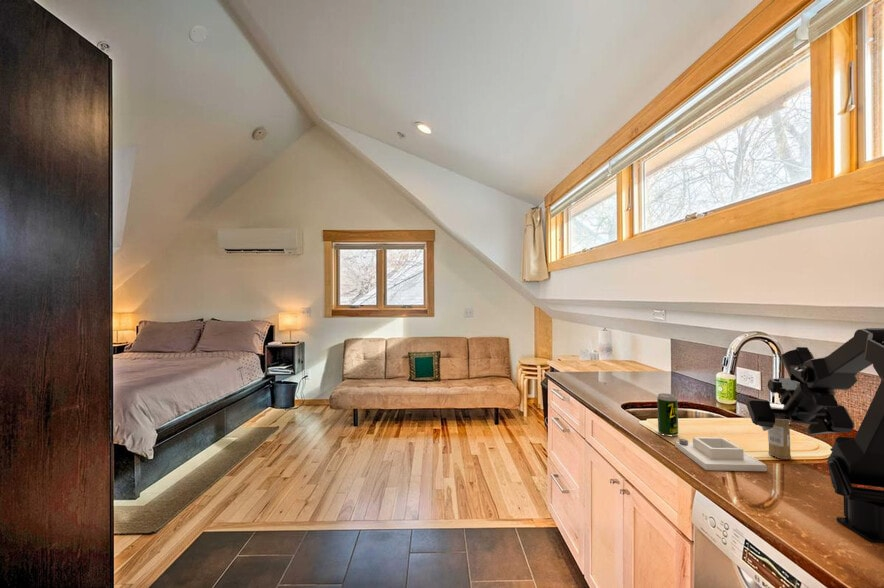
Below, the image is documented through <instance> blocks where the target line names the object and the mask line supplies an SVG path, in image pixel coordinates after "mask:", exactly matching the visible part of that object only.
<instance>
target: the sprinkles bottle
mask: <svg viewBox="0 0 884 588" xmlns="http://www.w3.org/2000/svg"><path fill="white" fill-rule="evenodd" d="M769 404H770V406H771V409H783V407H784V404H781V403H780V404H779V403H769ZM773 426H774V427H773V428H771V429H769V430H767V440H768V441H767V442H768V452H767V453H768V455H770V454H771V455H773V456H775V457H774V458H776V457H777V459H779V460H780V459H781V460H789V459H791V458H792V454H791V433H790V432H791V431H790V420H779V419H775V424H774V425H773ZM771 455H770V456H771ZM773 456H772V457H773Z"/></svg>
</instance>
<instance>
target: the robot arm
mask: <svg viewBox="0 0 884 588" xmlns="http://www.w3.org/2000/svg"><path fill="white" fill-rule="evenodd" d="M780 358H781V361H782V363H783V366H784V368H785V370H786V373H787V375H788V376H789V377H788V378H787V377H785V378H784V377H783V378H782V377H778V378H770V379H769V380H768V381H767V384H766V385H767V388H768V389H769V391H770V393H772V394H774V393H775V394H778V395H779V396H780V398H779V399H778V400H779V402H780V404H781V405H784V407H783V409H771V406H770V404H771V403H770V402H769V400H767V399H756V398H749V400H747V402H746V403H745V405H746V408H747V411H748V413H749V417H750V419H751V422H752V423H753V424H754V425H756V426H759V427H761V429H762V431H763V432H766V431H768V430H769V429H771V428H773V427H774V426H773V425H774V424H775V419H779V420H789V422H791V423H792V424H793V423H794V424H806V425H808V427H807V429H806V433H807V435H809V436H811V435H821V434H823V435H824V434H838V433H839V434H842V433H848V434H849V433H851V432H852V431H853V429H854V428H855V422H854V420H853V418H852V416H851V414H849V412H848V409H847V408H846V407H845V406H844V405H842V404H838V401H837V399H836V397H835V395H836V392H835V390H838V391H839V390H841V391H848V390H850V389H851V388H852V387H853V386H854V385H855V384H856V383H857V382H858V379H857V376H856V375H857V374H858V373H860V372H862V371H863V370H866V369H867V368H868V367H871V366H872V368H873V369H874V370H875V372H876V373H877V374H876V375H878V377H879V379H880V383H879V385H878V387H877V389H876V391H875V393H874V396H873V398H872V400H871V402H870V404H869V406H868V408H867V411H866V413H865V415H864V417H863V419H862V422H861V423H860V426H859V427H858V430H857V432H856V433H855V436H854V437H850V436H838V437H836V438H835V440H834V444H833V446H832V447H830V449H829V450H830V451H831V453H830V455H829V456H828V458H827V467H828V471H829V475H830V481H831V484H832V487H833V489H834V493H835V494H837V495H840V496H842V497H843V516H841V517H840V516H837V517H836V521H837V522H839V523H840V524H842V525H843V526H845V527H847V528H849V529H850V530H851V531H853V532H855V533H856V534H858V535H860V536H861V537H863V538H865V539H866V540H867V541H869V542H873V543H884V489H883V488H884V327H863V328H860V329H857V330H856V331H854V334H853V337H851V338H850V339H848V340H847V341H846V342H844V343H842V345H840V346H839V347H838V348H836V349H835V350H834V351H832V352H830V354H828V355H826V356H824V357H823V356H822V357H816V358H815V357H814V355H813V353H812V352H811V351H810V349H809V348H808V347H807V346H806V347H805V346H803V347H802V346H797V347H796V348H795V349H792V350H788V351H786V352H784V353H782V354H781V355H780ZM853 485H858V486H853ZM859 486H861V487H859ZM862 486H867V487H868V488H867V487H862ZM869 487H874V488H869ZM875 488H882V489H875Z"/></svg>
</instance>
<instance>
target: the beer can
mask: <svg viewBox="0 0 884 588" xmlns="http://www.w3.org/2000/svg"><path fill="white" fill-rule="evenodd" d="M677 397H678V396H677V395H675V394H672V393H664V392H662V393H658V394H657V399H656V400H657V429H658V430H657V431H658V433H659V434H660V435H661V434H664V435H672V436H676V437H678V435H679V410H678V409H679V407H678V398H677ZM664 435H663V436H664Z"/></svg>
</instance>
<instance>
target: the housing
mask: <svg viewBox="0 0 884 588" xmlns="http://www.w3.org/2000/svg"><path fill="white" fill-rule="evenodd" d="M674 446H675V448H676V449H677V450H679V451H680V452H681V453H682V454H684V455H685V456H687V457H688V458H689V459H690V460H692V461H693V462H694V463H696V464H697V465H699V467H701V468H702V469H703V470H705V471H734V472H735V471H736V472H738V471H739V472H767V469H768V468H767V464H765V463H764V462H762V461H760V460H758V459H757V458H755V457H753V456H752V455H749V454H748V453H746V452H745V451H744V449H743V448H742V447H740V446H738V445H737V444H735V443H733V442H732V441H730V440H728V439H726V438H724V437H719V436H718V437H717V436H716V437H715V436H714V437H711V436H710V437H709V436H708V437H704V436H703V437H702V436H701V437H700V436H699V437H698V436H697V437H696V436H695V437H694V436H692V441H688V440H687V439H686V438H680V439H679V441H675V442H674Z"/></svg>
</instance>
